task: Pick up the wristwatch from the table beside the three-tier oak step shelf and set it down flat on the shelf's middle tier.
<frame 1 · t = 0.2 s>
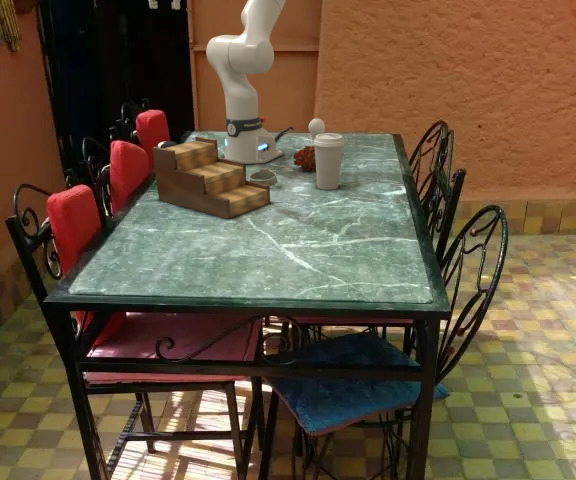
hand: (164, 9, 181), 48 cm above the table, tool pointing down, fingers open, 8 cm apart
coffee cup: (327, 187, 197), on the table
dragon fruit: (307, 170, 214), on the table
lightbulb: (316, 150, 238), on the table
medicine bottle: (171, 181, 205), on the table
step shelf: (214, 201, 186), on the table
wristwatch: (263, 186, 199), on the table
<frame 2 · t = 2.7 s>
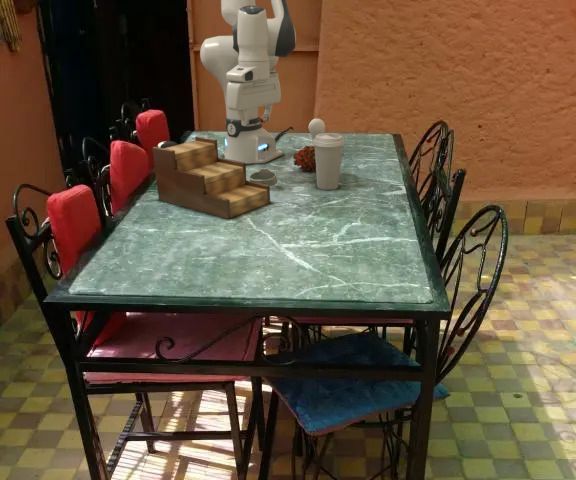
hand: (256, 123, 189), 18 cm above the table, tool pointing down, fingers open, 8 cm apart
nothing on the table moved.
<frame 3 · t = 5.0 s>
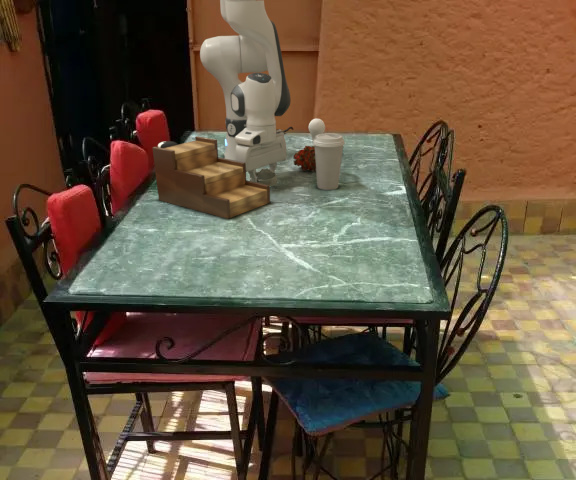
hand: (262, 180, 198), 2 cm above the table, tool pointing down, fingers closed on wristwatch, 6 cm apart
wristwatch: (263, 186, 199), on the table, touching gripper
everything else where it was.
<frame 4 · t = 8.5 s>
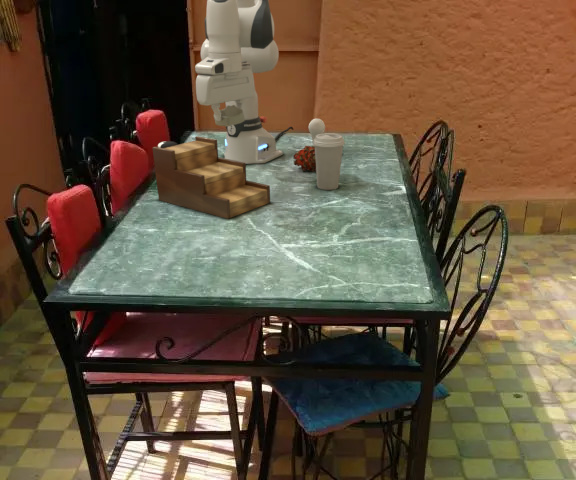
hand: (228, 118, 179), 22 cm above the table, tool pointing down, fingers closed on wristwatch, 6 cm apart
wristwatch: (229, 125, 180), point 20 cm above the table, touching gripper
everything else where it was.
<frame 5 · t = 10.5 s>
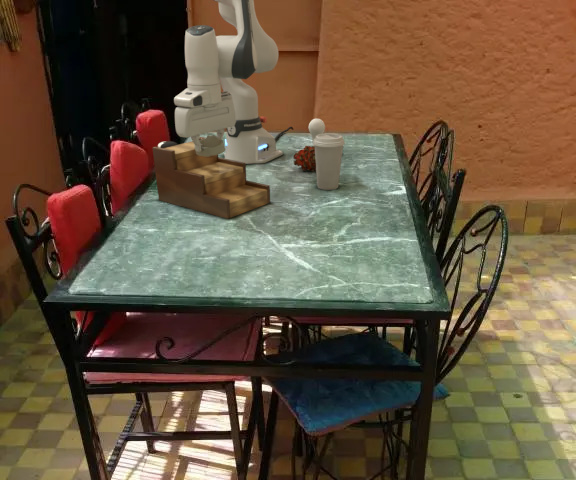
hand: (208, 148, 178), 15 cm above the table, tool pointing down, fingers closed on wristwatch, 6 cm apart
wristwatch: (209, 155, 179), point 13 cm above the table, touching gripper
everything else where it was.
when the fingers open (11 cm above the table, at t = 12.1 s): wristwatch stays where it is, resting on step shelf.
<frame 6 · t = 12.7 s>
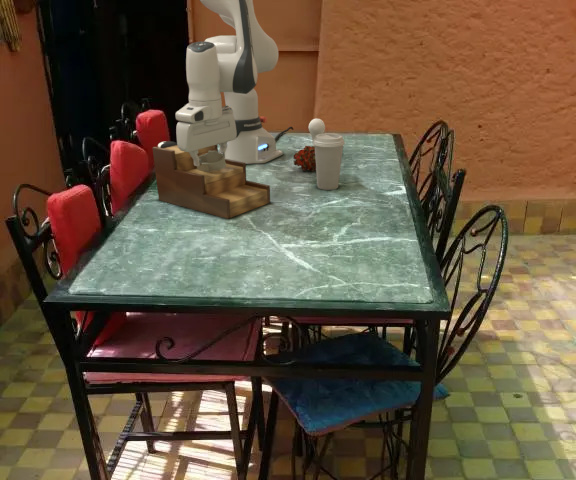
hand: (209, 162, 180), 11 cm above the table, tool pointing down, fingers open, 8 cm apart
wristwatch: (211, 170, 182), point 9 cm above the table, touching step shelf
everything else where it was.
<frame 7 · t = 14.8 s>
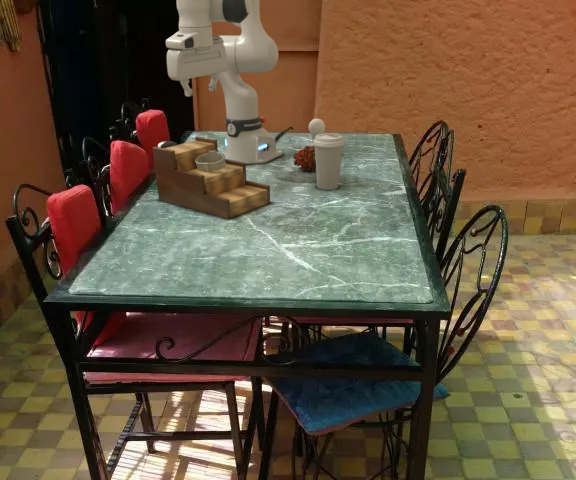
hand: (201, 93, 180), 28 cm above the table, tool pointing down, fingers open, 8 cm apart
nothing on the table moved.
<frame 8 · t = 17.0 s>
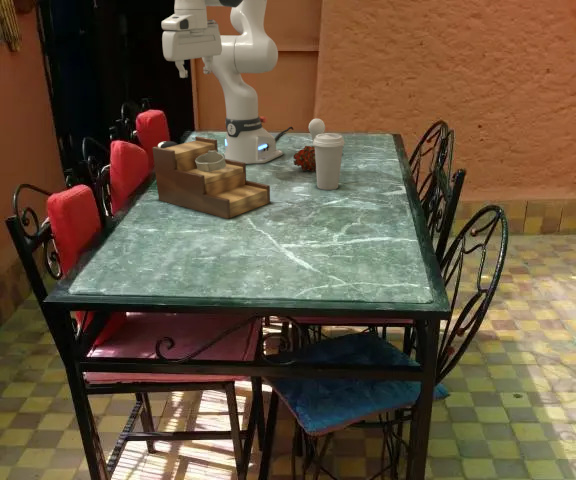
hand: (195, 75, 185), 31 cm above the table, tool pointing down, fingers open, 8 cm apart
nothing on the table moved.
at the end: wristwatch inside the target area on the step shelf (0.2 cm from its centre), point 8.8 cm above the step shelf's base; the gripper is holding nothing; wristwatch tilted 0° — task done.
